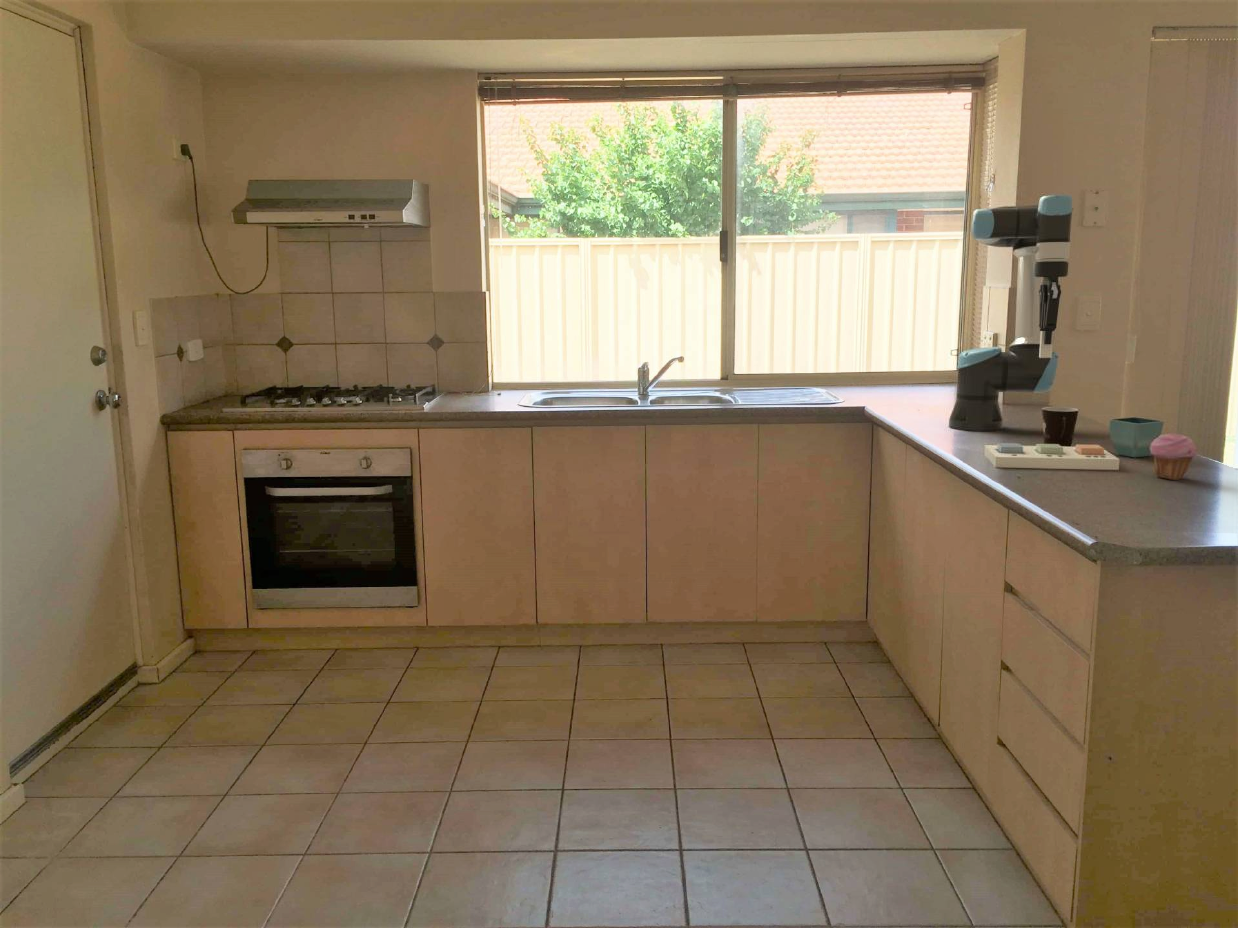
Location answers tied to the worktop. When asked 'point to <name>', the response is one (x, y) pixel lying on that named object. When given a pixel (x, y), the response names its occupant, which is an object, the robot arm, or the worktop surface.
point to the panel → (1051, 459)
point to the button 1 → (1009, 448)
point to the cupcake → (1172, 455)
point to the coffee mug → (1059, 425)
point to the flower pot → (1134, 435)
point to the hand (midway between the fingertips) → (1045, 357)
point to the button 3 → (1089, 450)
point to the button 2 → (1049, 449)
